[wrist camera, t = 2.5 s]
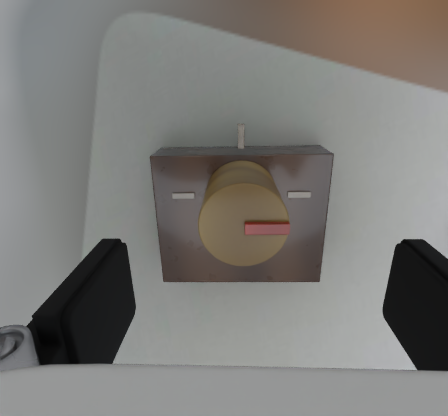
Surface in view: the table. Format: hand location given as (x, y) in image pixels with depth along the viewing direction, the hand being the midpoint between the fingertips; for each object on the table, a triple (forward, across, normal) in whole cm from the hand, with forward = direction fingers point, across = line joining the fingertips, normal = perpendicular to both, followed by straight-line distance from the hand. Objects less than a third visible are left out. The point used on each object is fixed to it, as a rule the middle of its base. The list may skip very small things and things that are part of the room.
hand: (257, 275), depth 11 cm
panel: (+12, 0, +2) cm, 12 cm away
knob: (+9, 0, 0) cm, 9 cm away
